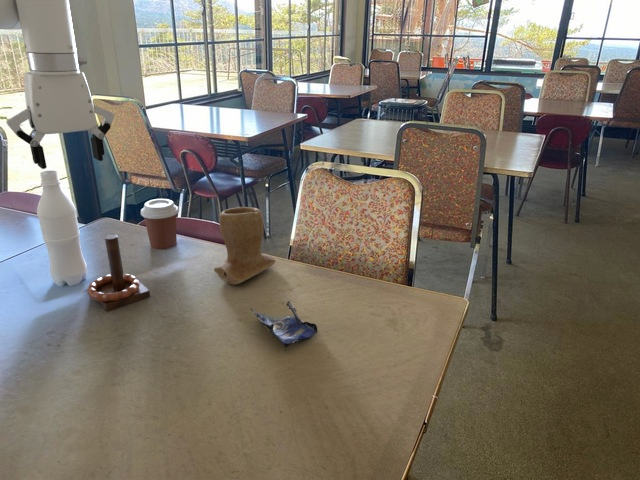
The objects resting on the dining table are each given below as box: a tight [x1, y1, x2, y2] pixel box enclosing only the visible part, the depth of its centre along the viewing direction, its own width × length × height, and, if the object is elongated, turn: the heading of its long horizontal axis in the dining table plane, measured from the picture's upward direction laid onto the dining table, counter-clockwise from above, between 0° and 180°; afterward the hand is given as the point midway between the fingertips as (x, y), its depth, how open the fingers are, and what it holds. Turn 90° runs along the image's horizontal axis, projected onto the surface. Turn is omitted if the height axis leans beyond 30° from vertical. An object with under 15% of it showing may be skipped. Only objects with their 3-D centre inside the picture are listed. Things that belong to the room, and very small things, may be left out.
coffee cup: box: [140, 198, 180, 251], centre depth 122 cm, size 9×9×12 cm
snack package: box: [250, 300, 319, 351], centre depth 90 cm, size 12×6×12 cm
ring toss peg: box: [96, 234, 151, 312], centre depth 99 cm, size 9×9×14 cm
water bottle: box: [36, 170, 88, 287], centre depth 101 cm, size 7×7×25 cm
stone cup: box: [213, 206, 276, 285], centre depth 110 cm, size 15×12×15 cm
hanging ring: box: [86, 272, 141, 302], centre depth 100 cm, size 10×10×2 cm
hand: (71, 163), depth 88 cm, fingers open, 9 cm apart
